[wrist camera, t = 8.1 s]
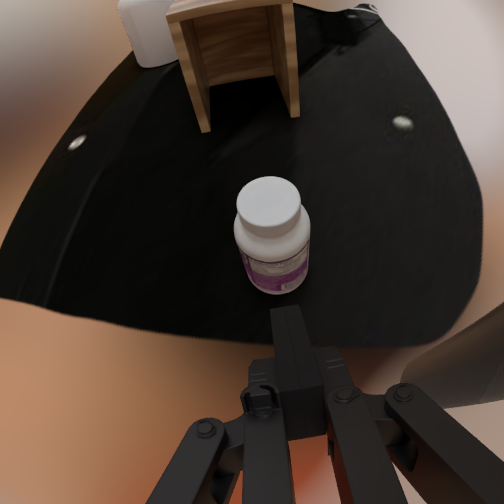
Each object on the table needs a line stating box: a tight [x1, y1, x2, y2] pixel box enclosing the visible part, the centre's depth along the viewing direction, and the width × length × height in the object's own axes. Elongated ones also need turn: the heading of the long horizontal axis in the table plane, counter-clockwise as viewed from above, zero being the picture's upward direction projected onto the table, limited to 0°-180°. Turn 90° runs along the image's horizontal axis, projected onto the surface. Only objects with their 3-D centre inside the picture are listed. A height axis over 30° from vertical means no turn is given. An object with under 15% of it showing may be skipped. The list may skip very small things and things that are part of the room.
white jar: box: [118, 0, 178, 68], centre depth 47 cm, size 12×12×20 cm
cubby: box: [165, 0, 300, 133], centre depth 34 cm, size 14×13×17 cm
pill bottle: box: [234, 176, 310, 294], centre depth 23 cm, size 5×5×10 cm
